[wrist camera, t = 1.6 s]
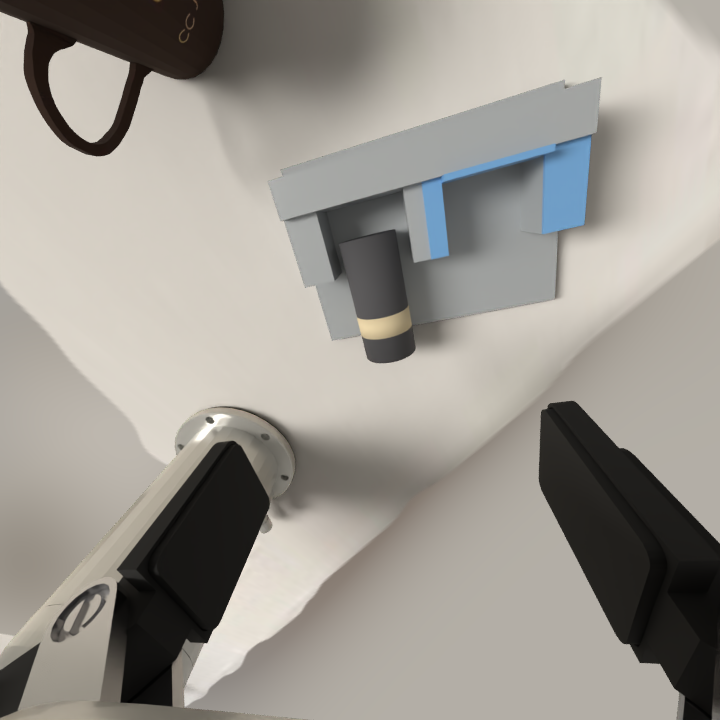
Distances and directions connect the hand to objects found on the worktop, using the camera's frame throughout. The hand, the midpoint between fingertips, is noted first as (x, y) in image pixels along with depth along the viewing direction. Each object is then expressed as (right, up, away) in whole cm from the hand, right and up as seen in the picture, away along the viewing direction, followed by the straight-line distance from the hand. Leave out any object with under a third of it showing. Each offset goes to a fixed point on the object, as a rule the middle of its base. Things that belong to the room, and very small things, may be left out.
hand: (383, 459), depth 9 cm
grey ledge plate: (+4, +12, +11) cm, 16 cm away
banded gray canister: (+1, +8, +12) cm, 15 cm away
